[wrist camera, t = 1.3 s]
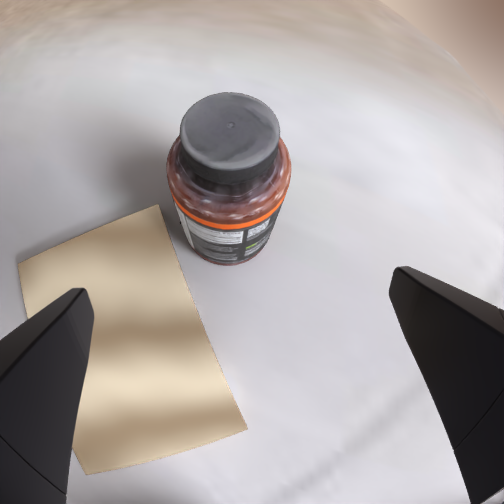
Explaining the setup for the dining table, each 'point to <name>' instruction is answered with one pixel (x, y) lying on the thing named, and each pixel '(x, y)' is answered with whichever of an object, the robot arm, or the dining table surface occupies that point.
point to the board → (136, 345)
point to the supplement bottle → (228, 176)
